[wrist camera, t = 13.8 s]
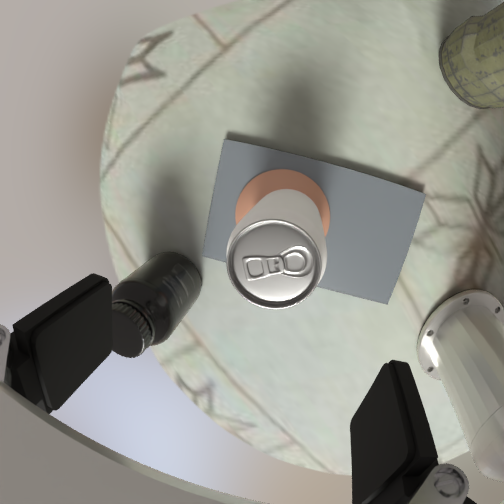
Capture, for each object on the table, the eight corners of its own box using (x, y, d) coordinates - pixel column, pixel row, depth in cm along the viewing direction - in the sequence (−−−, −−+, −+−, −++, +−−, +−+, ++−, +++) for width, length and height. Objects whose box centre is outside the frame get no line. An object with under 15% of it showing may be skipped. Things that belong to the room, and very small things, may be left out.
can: (325, 249, 30) (334, 309, 19) (260, 259, 31) (232, 320, 20) (315, 182, 28) (320, 203, 17) (246, 194, 29) (208, 221, 18)
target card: (423, 193, 27) (426, 194, 26) (385, 301, 31) (387, 305, 30) (226, 139, 29) (223, 139, 28) (204, 253, 33) (201, 256, 32)
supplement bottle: (145, 247, 34) (80, 290, 23) (201, 252, 33) (151, 303, 22) (150, 302, 36) (96, 358, 25) (204, 310, 35) (161, 375, 24)
